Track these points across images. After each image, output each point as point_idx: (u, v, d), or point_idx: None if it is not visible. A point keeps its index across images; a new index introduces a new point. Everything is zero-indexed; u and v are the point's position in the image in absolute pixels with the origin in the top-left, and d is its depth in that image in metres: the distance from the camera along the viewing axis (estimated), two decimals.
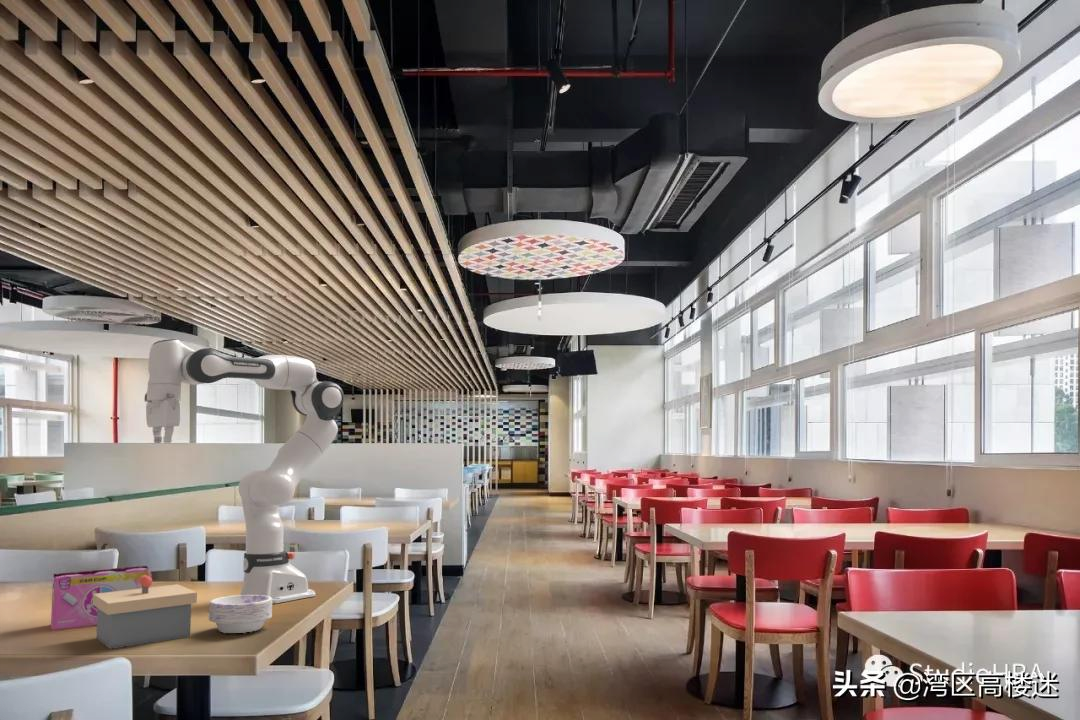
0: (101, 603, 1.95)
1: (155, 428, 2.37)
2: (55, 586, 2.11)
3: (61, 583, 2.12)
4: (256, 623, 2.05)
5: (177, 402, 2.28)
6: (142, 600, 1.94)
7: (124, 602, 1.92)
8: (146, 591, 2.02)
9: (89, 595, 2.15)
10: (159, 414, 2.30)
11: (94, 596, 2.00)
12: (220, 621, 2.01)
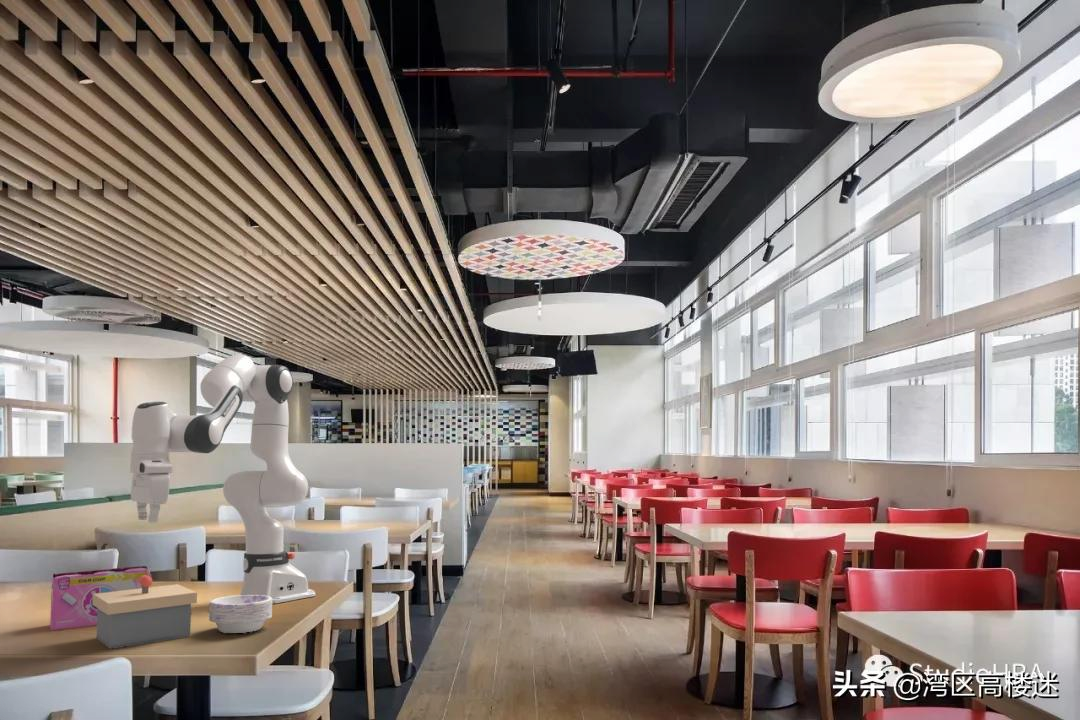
0: (101, 603, 1.95)
1: None
2: (54, 586, 2.11)
3: (60, 584, 2.11)
4: (256, 623, 2.05)
5: None
6: (142, 600, 1.94)
7: (124, 602, 1.92)
8: (146, 591, 2.02)
9: (88, 595, 2.14)
10: None
11: (94, 596, 2.00)
12: (220, 621, 2.01)
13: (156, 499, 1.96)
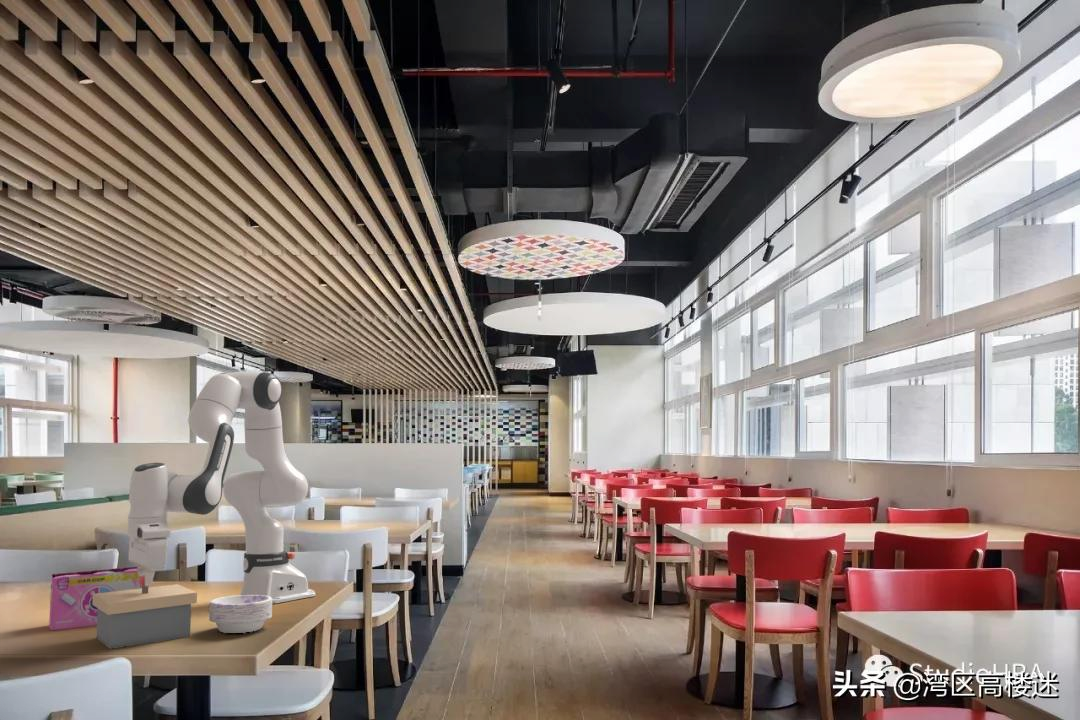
0: (101, 603, 1.95)
1: None
2: (53, 586, 2.10)
3: (60, 584, 2.11)
4: (256, 623, 2.05)
5: None
6: (142, 600, 1.94)
7: (124, 602, 1.92)
8: (146, 591, 2.02)
9: (87, 595, 2.14)
10: None
11: (94, 596, 2.00)
12: (220, 621, 2.01)
13: (154, 565, 1.95)
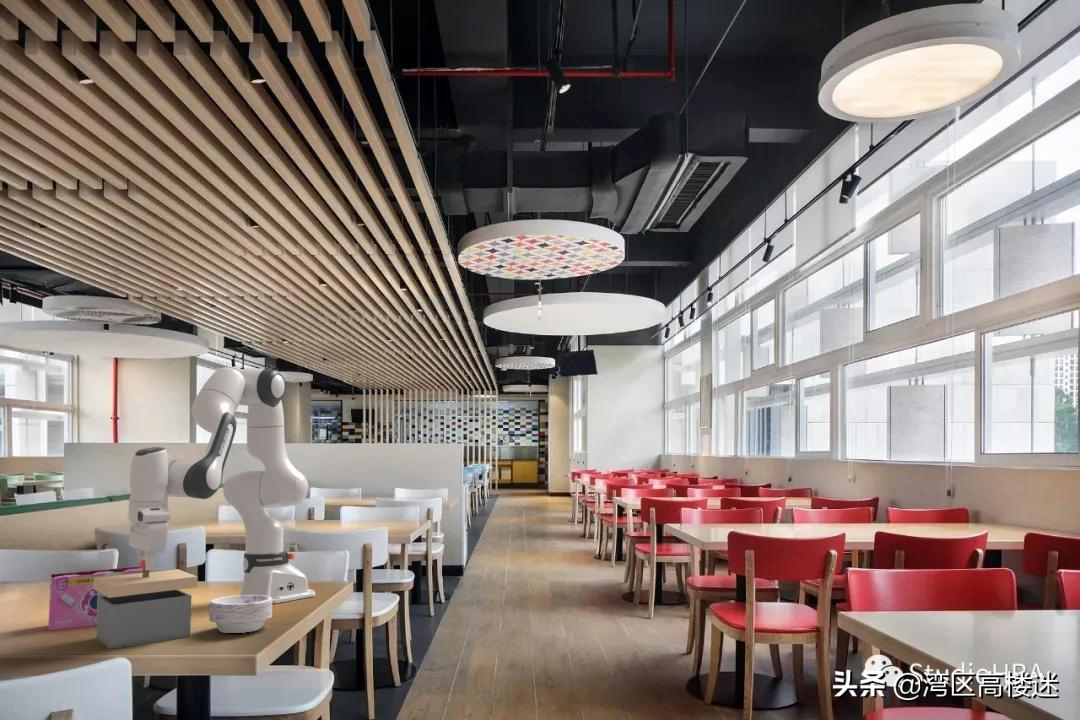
0: (102, 586, 1.95)
1: None
2: (52, 586, 2.10)
3: (59, 584, 2.11)
4: (256, 623, 2.05)
5: None
6: (143, 583, 1.95)
7: (125, 585, 1.92)
8: (147, 575, 2.02)
9: (86, 595, 2.14)
10: None
11: (95, 580, 2.01)
12: (220, 621, 2.01)
13: (155, 548, 1.95)
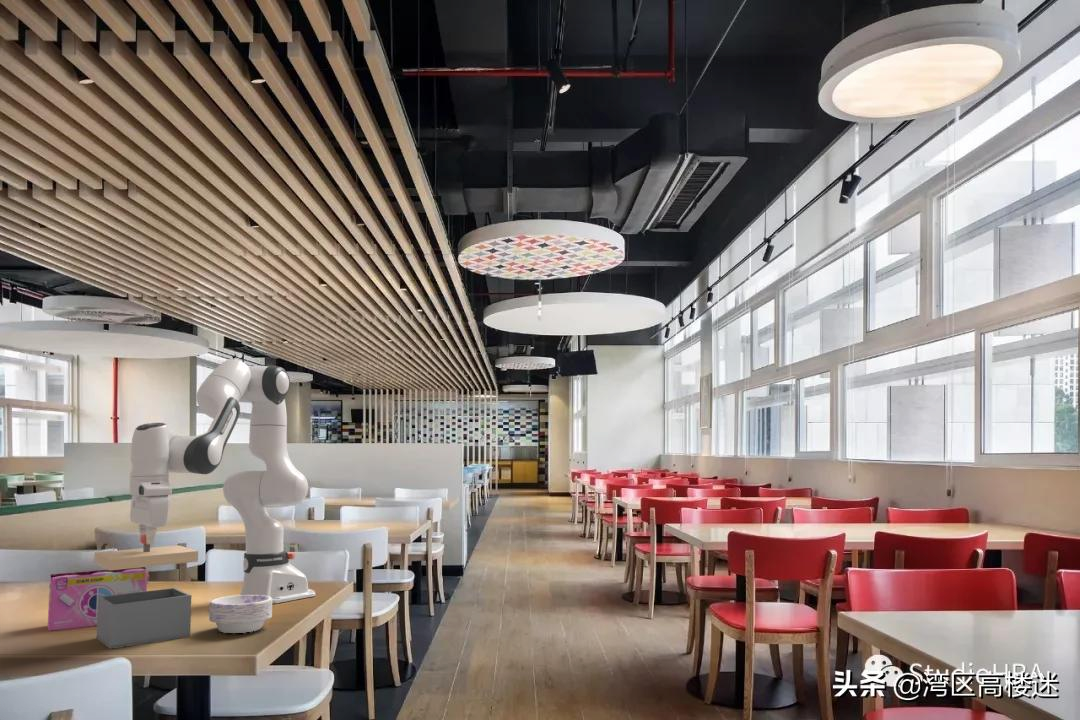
0: (103, 560, 1.96)
1: None
2: (52, 587, 2.10)
3: (58, 584, 2.11)
4: (256, 623, 2.05)
5: None
6: (144, 557, 1.95)
7: (126, 558, 1.93)
8: (148, 550, 2.03)
9: (86, 596, 2.14)
10: None
11: (96, 554, 2.01)
12: (220, 621, 2.01)
13: (156, 522, 1.96)
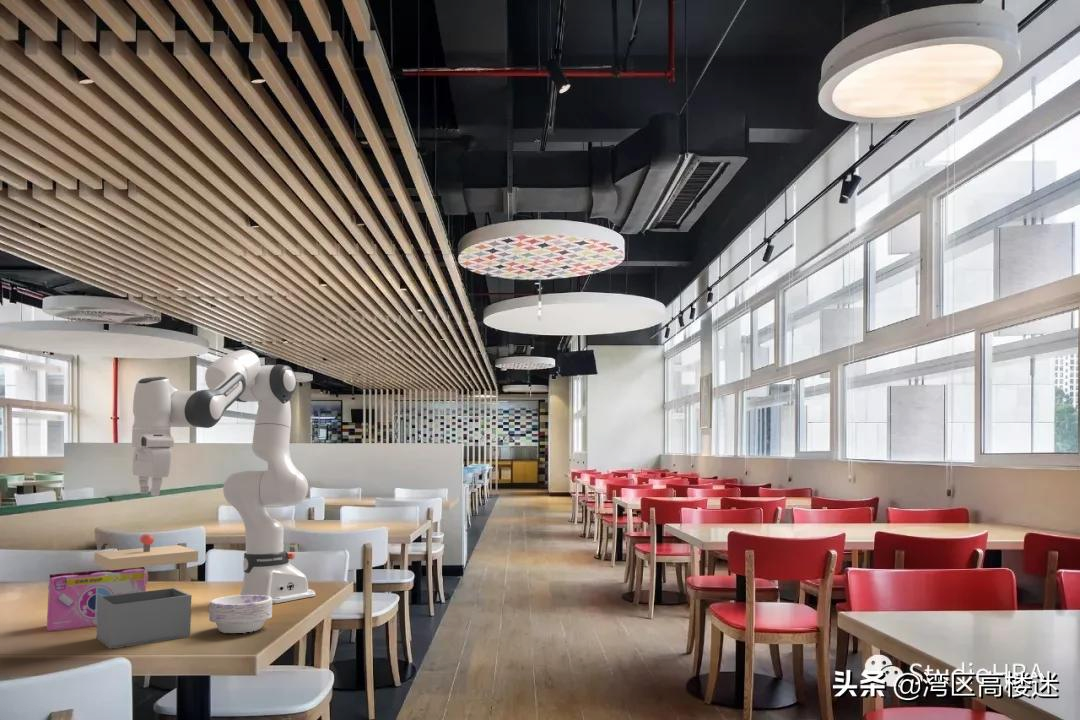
0: (103, 560, 1.96)
1: None
2: (51, 587, 2.10)
3: (57, 584, 2.10)
4: (256, 623, 2.05)
5: None
6: (144, 557, 1.95)
7: (126, 558, 1.93)
8: (148, 549, 2.03)
9: (85, 596, 2.13)
10: None
11: (96, 554, 2.01)
12: (220, 621, 2.01)
13: (158, 472, 1.98)
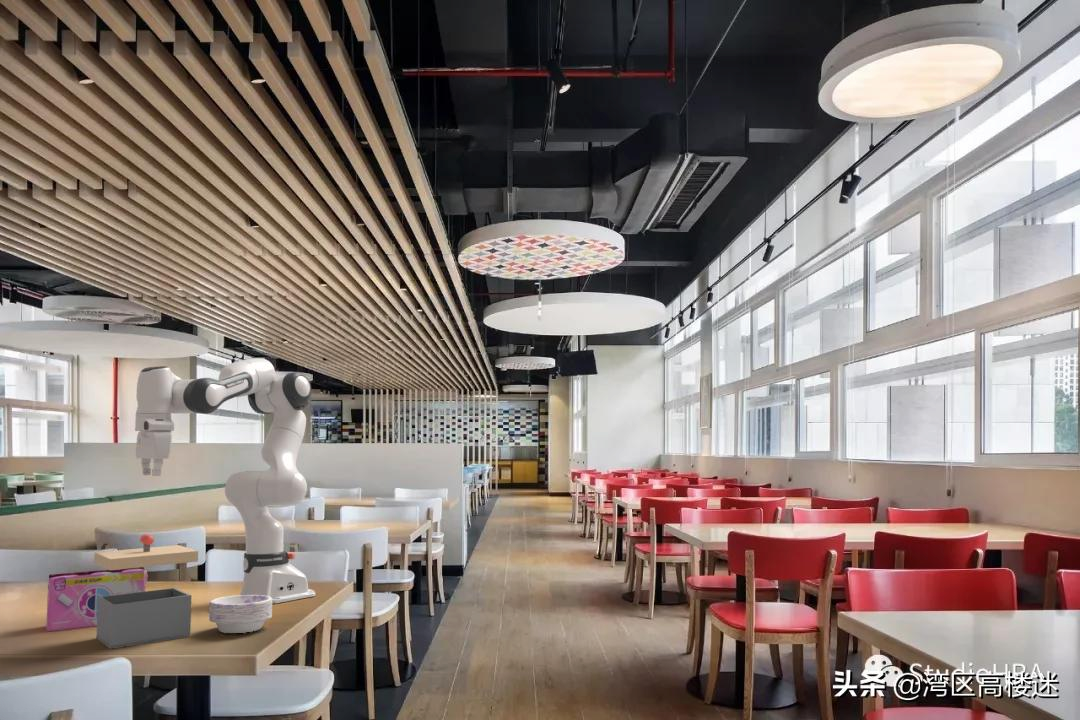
0: (103, 560, 1.96)
1: None
2: (50, 587, 2.10)
3: (56, 584, 2.10)
4: (256, 623, 2.05)
5: None
6: (144, 557, 1.95)
7: (126, 558, 1.93)
8: (148, 549, 2.03)
9: (84, 596, 2.13)
10: None
11: (96, 554, 2.01)
12: (220, 621, 2.01)
13: (159, 454, 2.13)
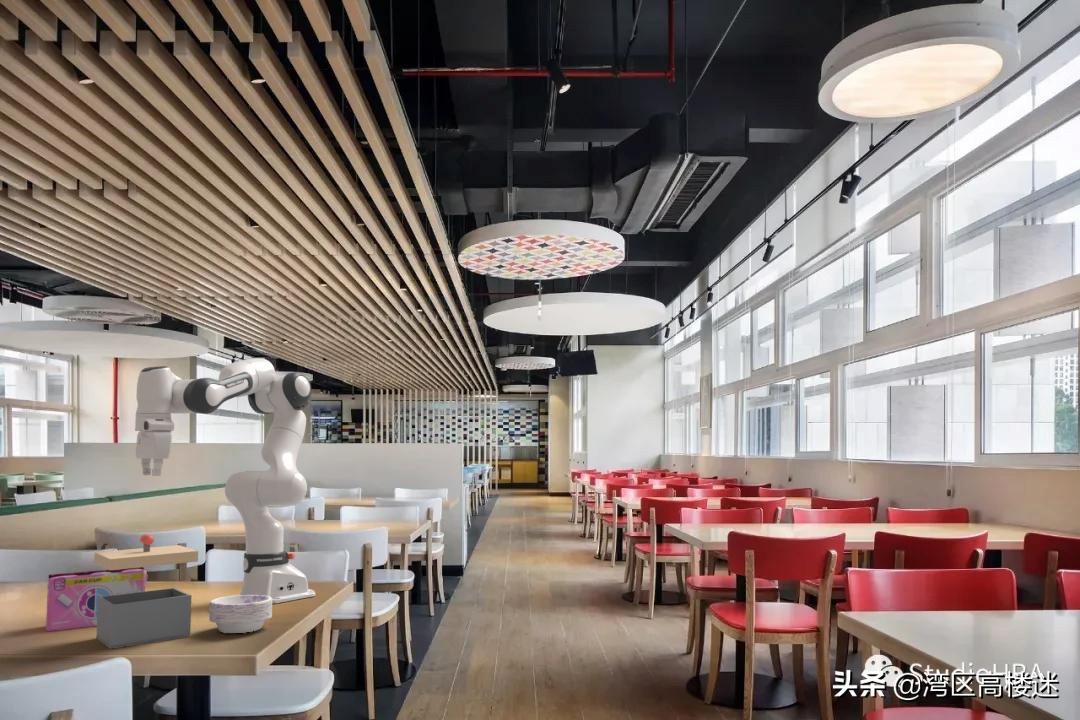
0: (103, 560, 1.96)
1: None
2: (50, 587, 2.09)
3: (56, 584, 2.10)
4: (256, 623, 2.05)
5: None
6: (144, 557, 1.95)
7: (126, 558, 1.93)
8: (148, 549, 2.03)
9: (84, 596, 2.13)
10: None
11: (96, 554, 2.01)
12: (220, 621, 2.01)
13: (159, 454, 2.13)
